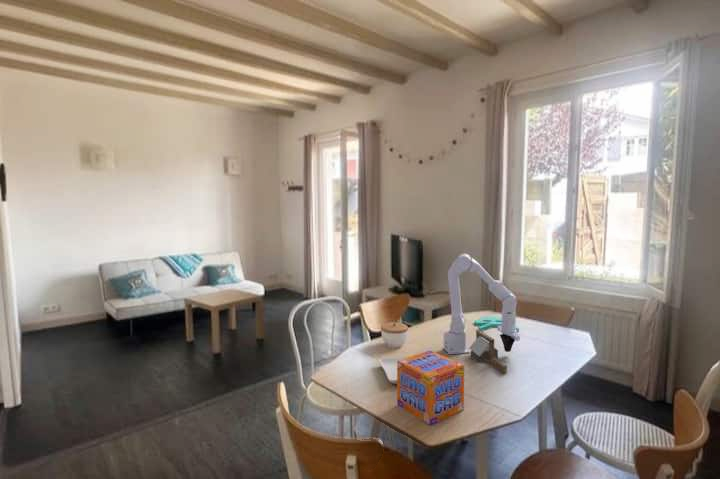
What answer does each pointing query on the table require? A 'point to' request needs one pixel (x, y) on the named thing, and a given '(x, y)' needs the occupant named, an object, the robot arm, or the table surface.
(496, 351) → the tall grey block
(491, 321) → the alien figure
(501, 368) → the doorway frame
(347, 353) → the table surface
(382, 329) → the lidded bowl
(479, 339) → the flap
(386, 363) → the salad plate
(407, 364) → the game box
